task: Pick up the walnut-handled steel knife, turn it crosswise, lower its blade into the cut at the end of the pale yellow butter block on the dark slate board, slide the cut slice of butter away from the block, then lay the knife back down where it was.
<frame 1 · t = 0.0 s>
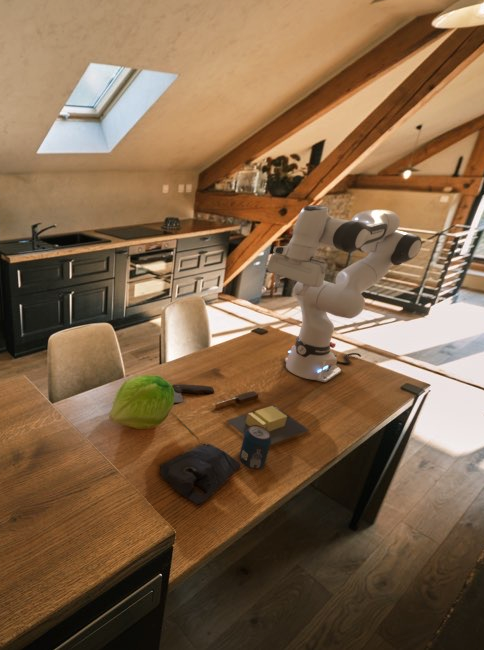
hand: (288, 291, 137), 39 cm above the table, tool pointing down, fingers open, 8 cm apart
lettuce: (138, 423, 128), on the table
soda can: (250, 464, 112), on the table
butter board: (266, 428, 127), on the table
knife: (236, 405, 138), on the table
cleaver: (175, 395, 142), on the table
folded black cloth: (200, 473, 109), on the table
butter slice: (254, 428, 125), point 1 cm above the table, touching butter board
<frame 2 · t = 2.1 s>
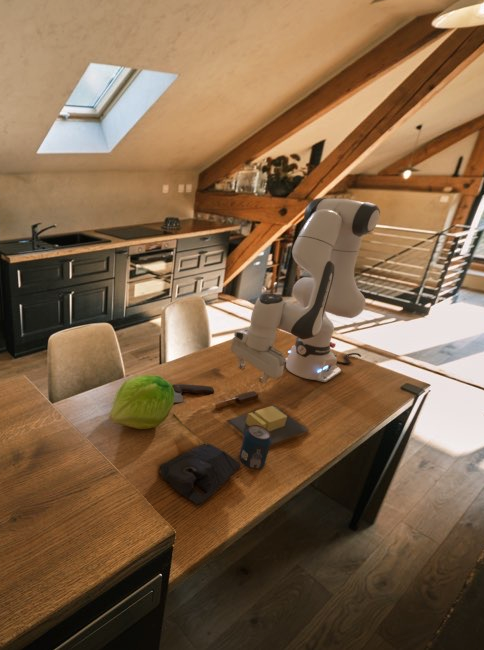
hand: (251, 375, 135), 12 cm above the table, tool pointing down, fingers open, 8 cm apart
nothing on the table moved.
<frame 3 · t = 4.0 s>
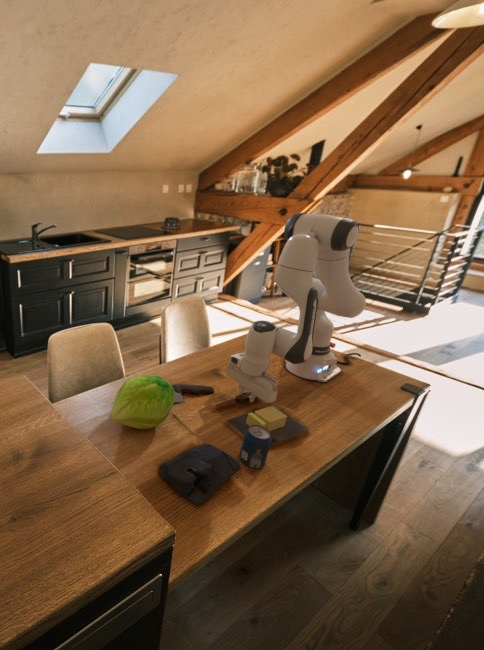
hand: (246, 398, 139), 2 cm above the table, tool pointing down, fingers closed on knife, 2 cm apart
knife: (236, 405, 138), on the table, touching gripper
everything else where it was.
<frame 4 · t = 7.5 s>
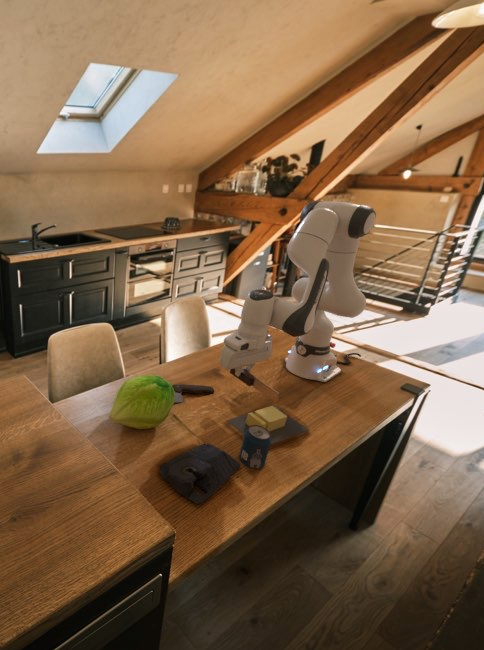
hand: (242, 374, 131), 14 cm above the table, tool pointing down, fingers closed on knife, 2 cm apart
knife: (251, 385, 127), point 13 cm above the table, touching gripper
everything else where it was.
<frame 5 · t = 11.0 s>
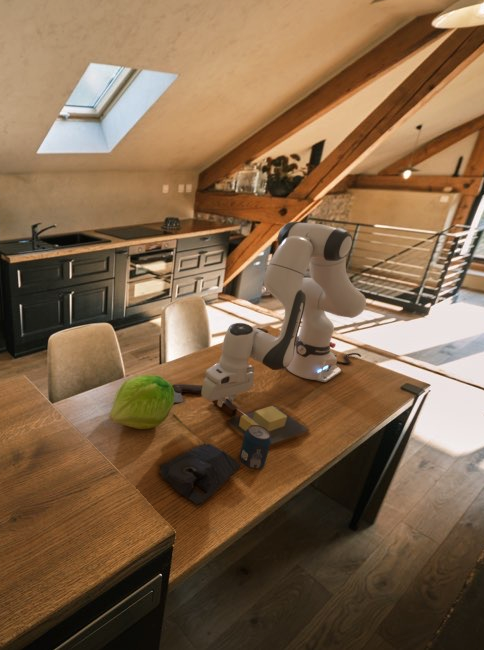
hand: (224, 404, 132), 4 cm above the table, tool pointing down, fingers closed on knife, 2 cm apart
knife: (234, 416, 129), point 2 cm above the table, touching butter slice, gripper
butter slice: (247, 430, 123), point 2 cm above the table, touching butter board, knife
everything else where it was.
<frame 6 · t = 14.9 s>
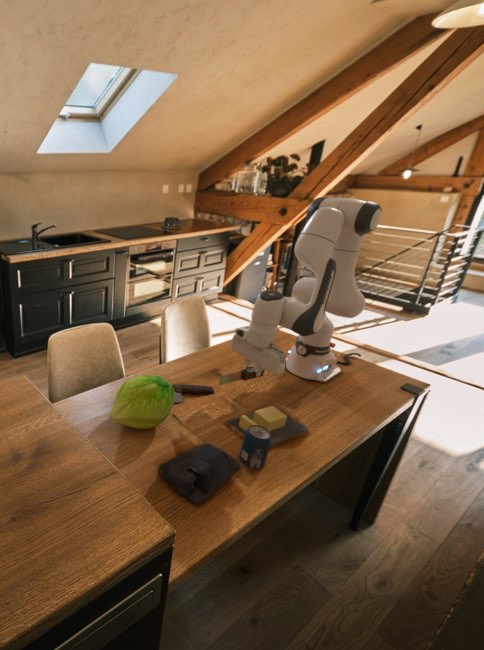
hand: (252, 372, 135), 13 cm above the table, tool pointing down, fingers closed on knife, 2 cm apart
knife: (241, 379, 133), point 11 cm above the table, touching gripper
butter slice: (247, 430, 123), point 1 cm above the table, touching butter board
everything else where it was.
when the fingers open (2 cm above the table, at t = 17.5 s): knife stays where it is, on the table.
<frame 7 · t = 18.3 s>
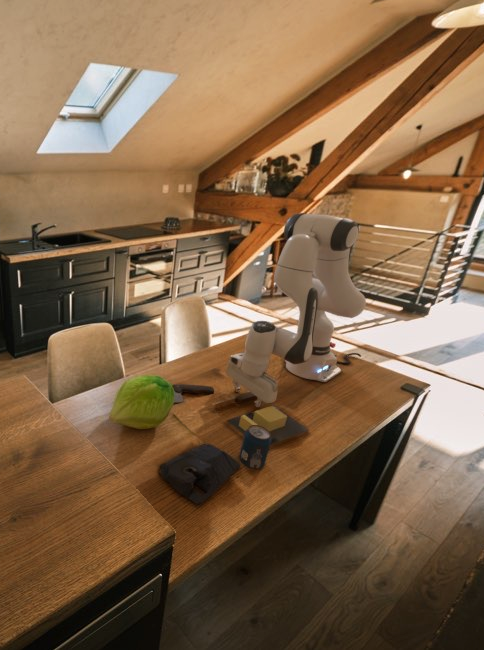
hand: (246, 398, 139), 2 cm above the table, tool pointing down, fingers open, 8 cm apart
knife: (235, 405, 138), on the table
everything else where it was.
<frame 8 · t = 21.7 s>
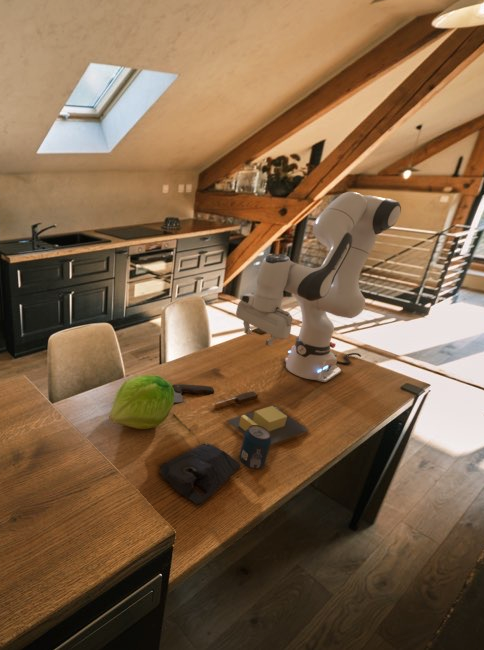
hand: (257, 339, 134), 24 cm above the table, tool pointing down, fingers open, 8 cm apart
nothing on the table moved.
at the end: butter slice moved 3.2 cm from its start; butter slice 0.6 cm from the target spot, point 1.5 cm above the table; knife inside the target area (0.3 cm from its centre), on the table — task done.
